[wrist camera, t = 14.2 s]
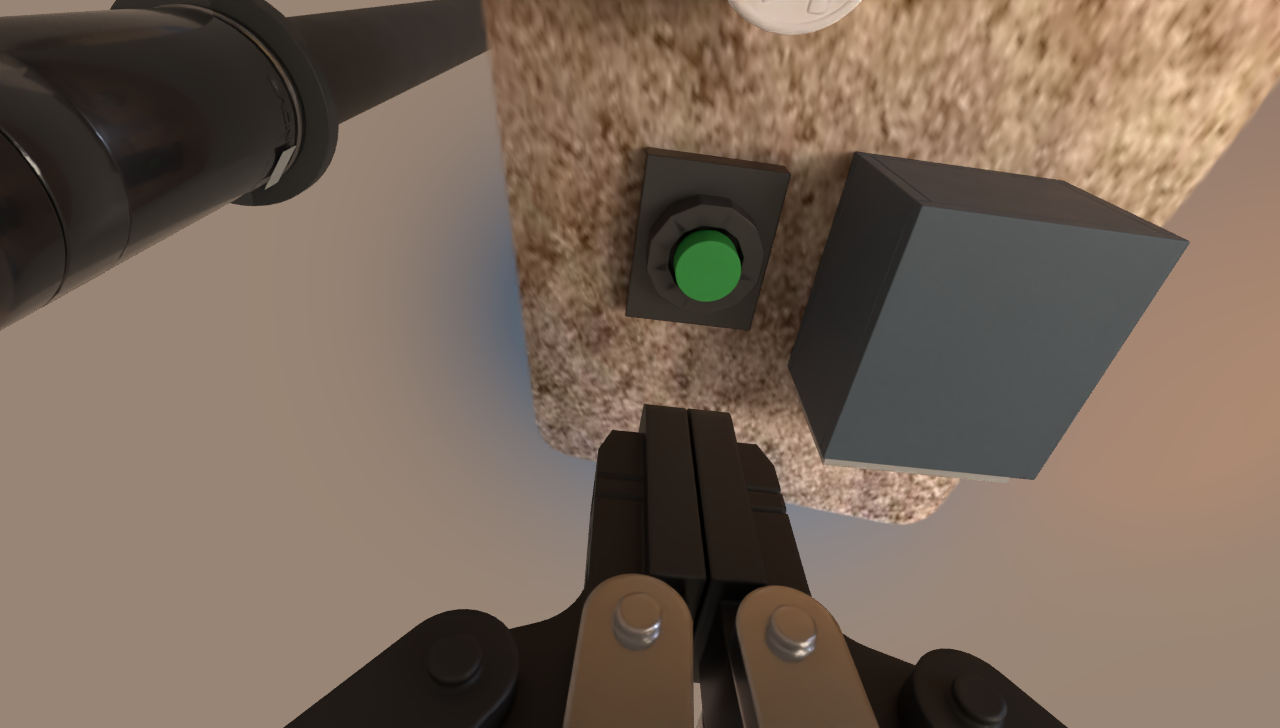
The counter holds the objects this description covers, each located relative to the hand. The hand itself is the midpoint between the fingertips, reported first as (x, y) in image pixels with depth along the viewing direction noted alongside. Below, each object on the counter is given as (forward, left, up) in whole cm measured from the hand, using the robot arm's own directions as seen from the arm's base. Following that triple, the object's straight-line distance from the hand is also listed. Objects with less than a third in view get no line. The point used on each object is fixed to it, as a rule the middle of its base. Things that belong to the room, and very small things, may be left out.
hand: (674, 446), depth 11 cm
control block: (+4, -6, -27) cm, 28 cm away
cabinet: (+18, -7, -27) cm, 33 cm away
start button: (+4, -6, -24) cm, 25 cm away
